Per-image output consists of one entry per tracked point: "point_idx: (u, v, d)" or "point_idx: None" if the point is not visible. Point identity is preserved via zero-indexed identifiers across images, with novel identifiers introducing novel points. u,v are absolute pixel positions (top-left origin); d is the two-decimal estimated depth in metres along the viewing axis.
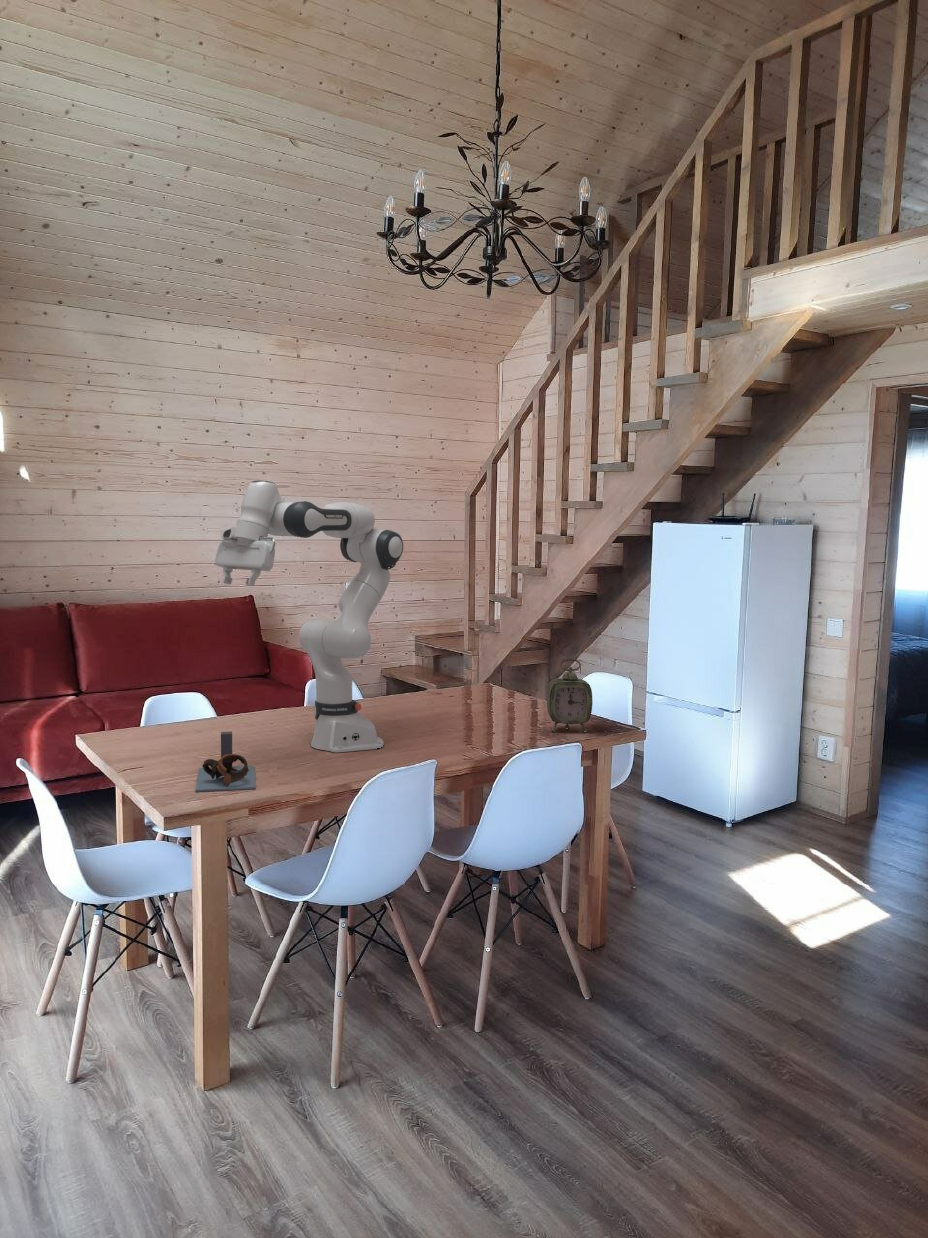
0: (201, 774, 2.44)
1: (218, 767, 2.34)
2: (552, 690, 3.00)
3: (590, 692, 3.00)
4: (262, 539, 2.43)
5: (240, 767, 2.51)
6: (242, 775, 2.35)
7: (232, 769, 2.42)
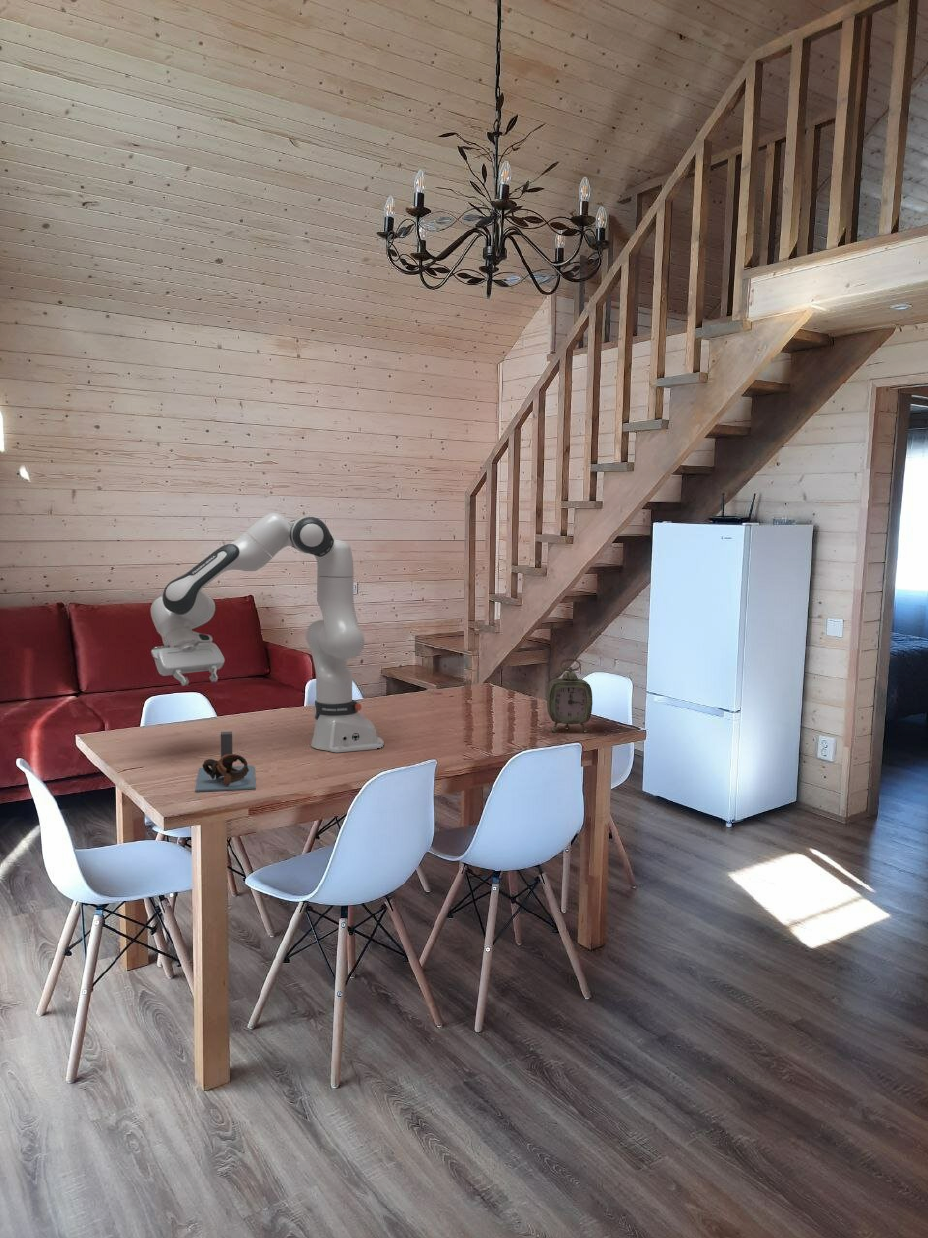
0: (201, 774, 2.44)
1: (218, 767, 2.34)
2: (552, 690, 3.00)
3: (590, 692, 3.00)
4: None
5: (240, 767, 2.51)
6: (242, 775, 2.35)
7: (232, 769, 2.42)
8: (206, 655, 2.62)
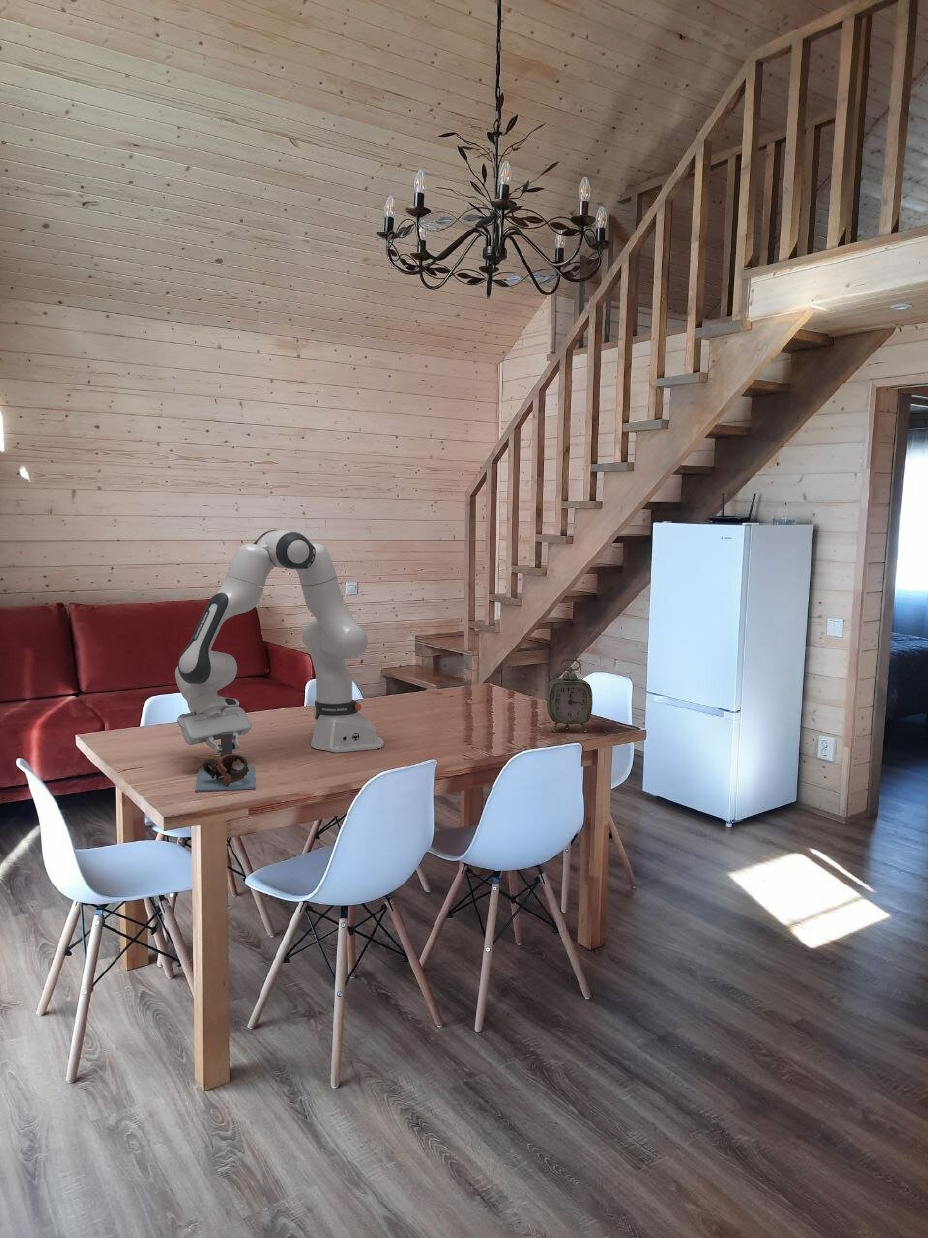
0: (201, 774, 2.44)
1: (218, 767, 2.34)
2: (552, 690, 3.00)
3: (590, 692, 3.00)
4: None
5: (240, 767, 2.51)
6: (242, 775, 2.35)
7: (232, 769, 2.42)
8: (233, 720, 2.55)
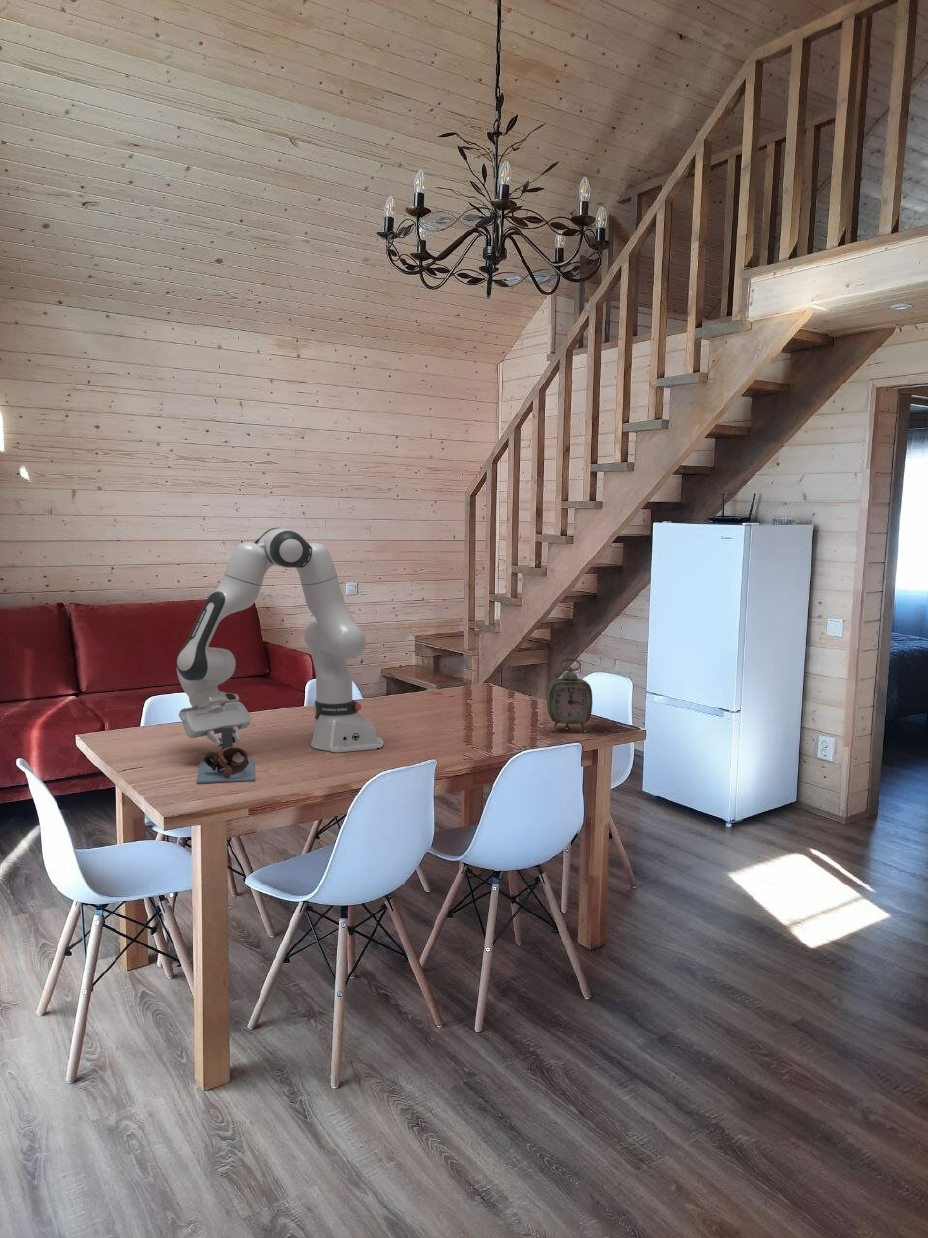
0: (202, 767, 2.51)
1: (219, 759, 2.41)
2: (552, 690, 3.00)
3: (590, 692, 3.00)
4: None
5: (240, 760, 2.58)
6: (242, 767, 2.42)
7: (232, 762, 2.49)
8: (233, 715, 2.62)
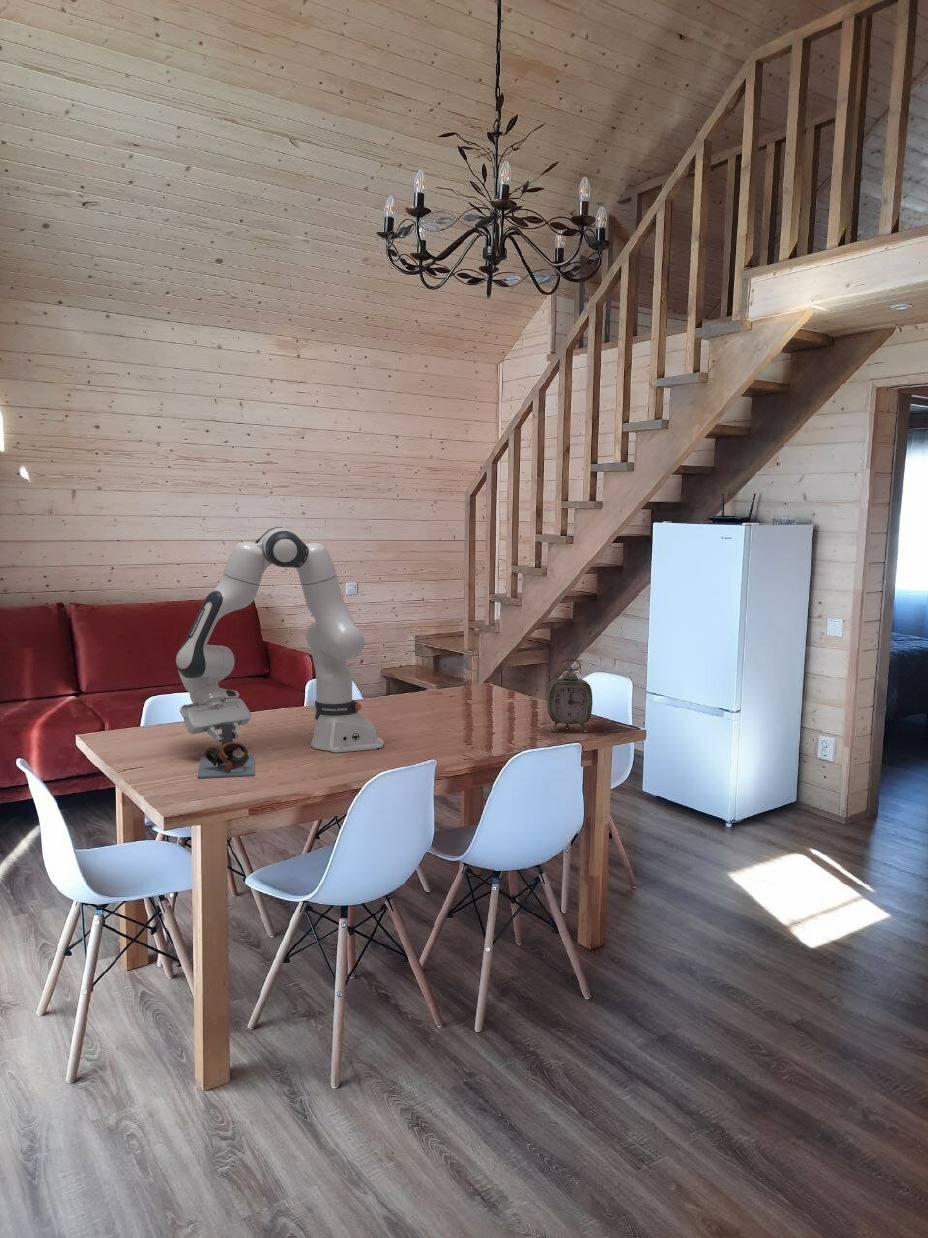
0: (203, 762, 2.56)
1: (220, 755, 2.46)
2: (552, 690, 3.00)
3: (590, 692, 3.00)
4: None
5: (240, 756, 2.63)
6: (242, 762, 2.47)
7: (233, 757, 2.54)
8: (233, 711, 2.67)
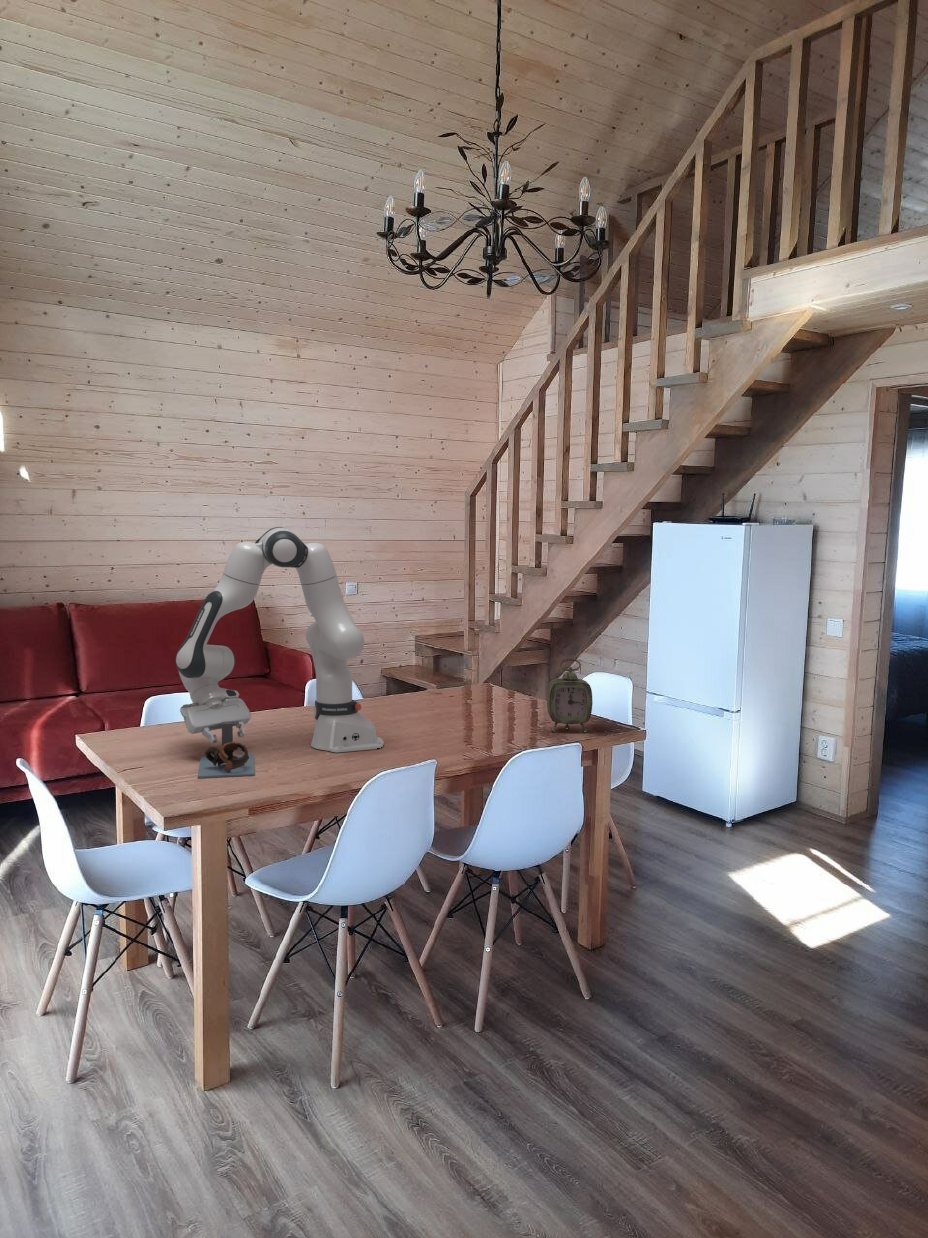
0: (203, 762, 2.56)
1: (220, 754, 2.46)
2: (552, 690, 3.00)
3: (590, 692, 3.00)
4: None
5: (240, 755, 2.63)
6: (243, 762, 2.47)
7: (233, 757, 2.54)
8: (233, 711, 2.68)
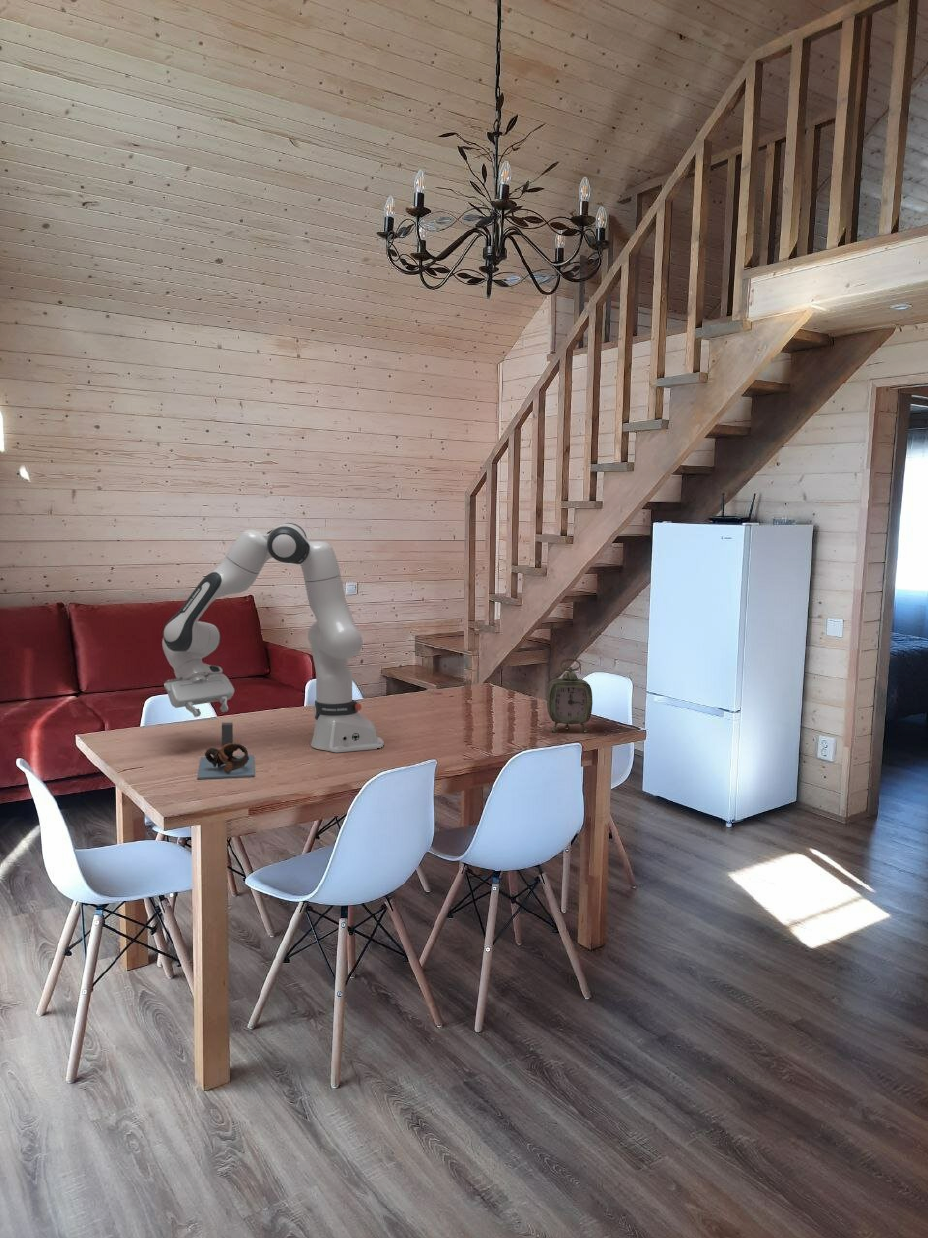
0: (203, 763, 2.55)
1: (220, 755, 2.45)
2: (552, 690, 3.00)
3: (590, 692, 3.00)
4: None
5: (240, 756, 2.62)
6: (243, 763, 2.46)
7: (233, 758, 2.53)
8: (217, 686, 2.72)
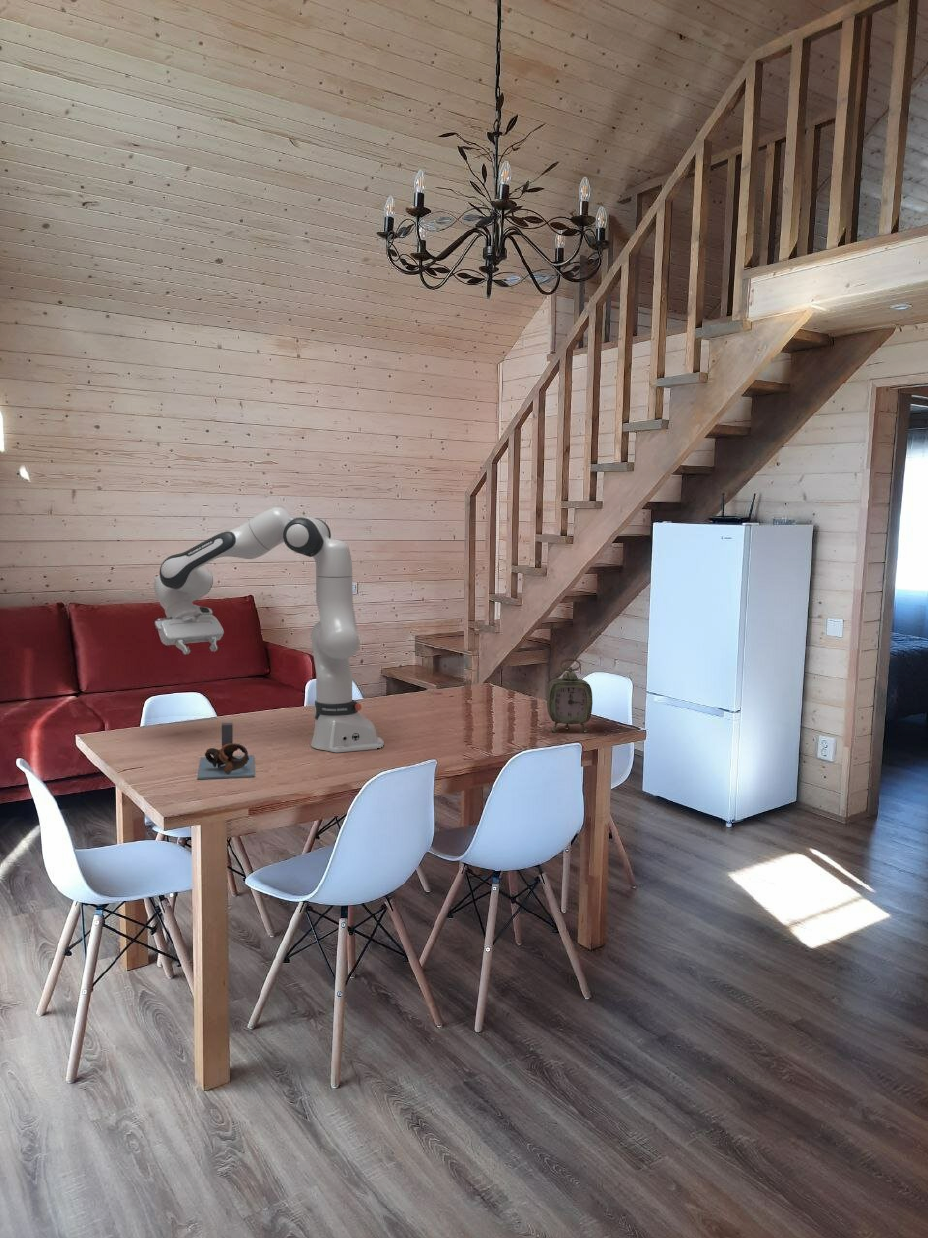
0: (203, 763, 2.55)
1: (220, 756, 2.45)
2: (552, 690, 3.00)
3: (590, 692, 3.00)
4: None
5: (240, 757, 2.62)
6: (243, 763, 2.46)
7: (233, 758, 2.53)
8: (206, 626, 2.79)
